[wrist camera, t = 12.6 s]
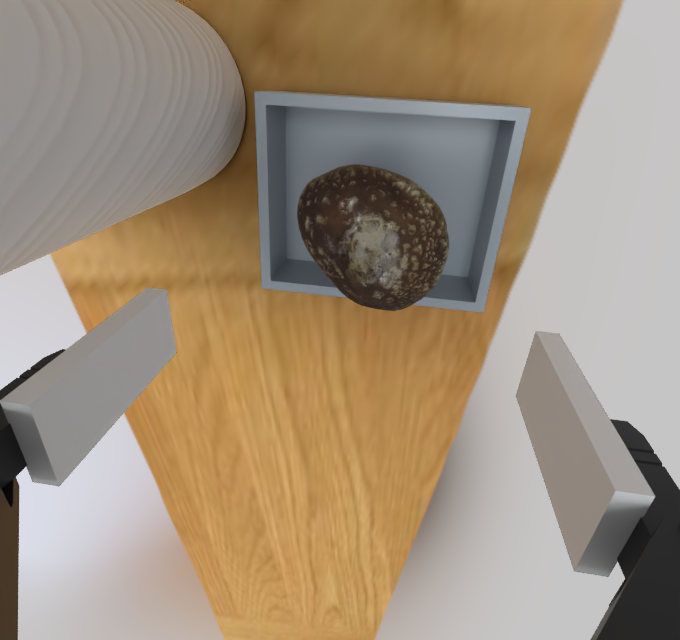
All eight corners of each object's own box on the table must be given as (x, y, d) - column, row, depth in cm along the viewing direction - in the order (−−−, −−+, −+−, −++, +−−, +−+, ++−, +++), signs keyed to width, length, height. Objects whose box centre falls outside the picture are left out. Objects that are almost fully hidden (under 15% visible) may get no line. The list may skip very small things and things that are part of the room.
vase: (218, -29, 32) (-890, -686, 5) (270, 170, 39) (-81, 378, 11) (58, 22, 36) (-1161, -197, 8) (130, 198, 42) (-414, 415, 14)
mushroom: (452, 225, 38) (473, 300, 25) (361, 260, 41) (337, 344, 28) (414, 116, 34) (414, 137, 21) (317, 163, 37) (265, 206, 24)
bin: (277, 90, 36) (254, 91, 30) (512, 104, 34) (531, 108, 28) (280, 263, 43) (261, 288, 37) (474, 283, 41) (483, 312, 36)
